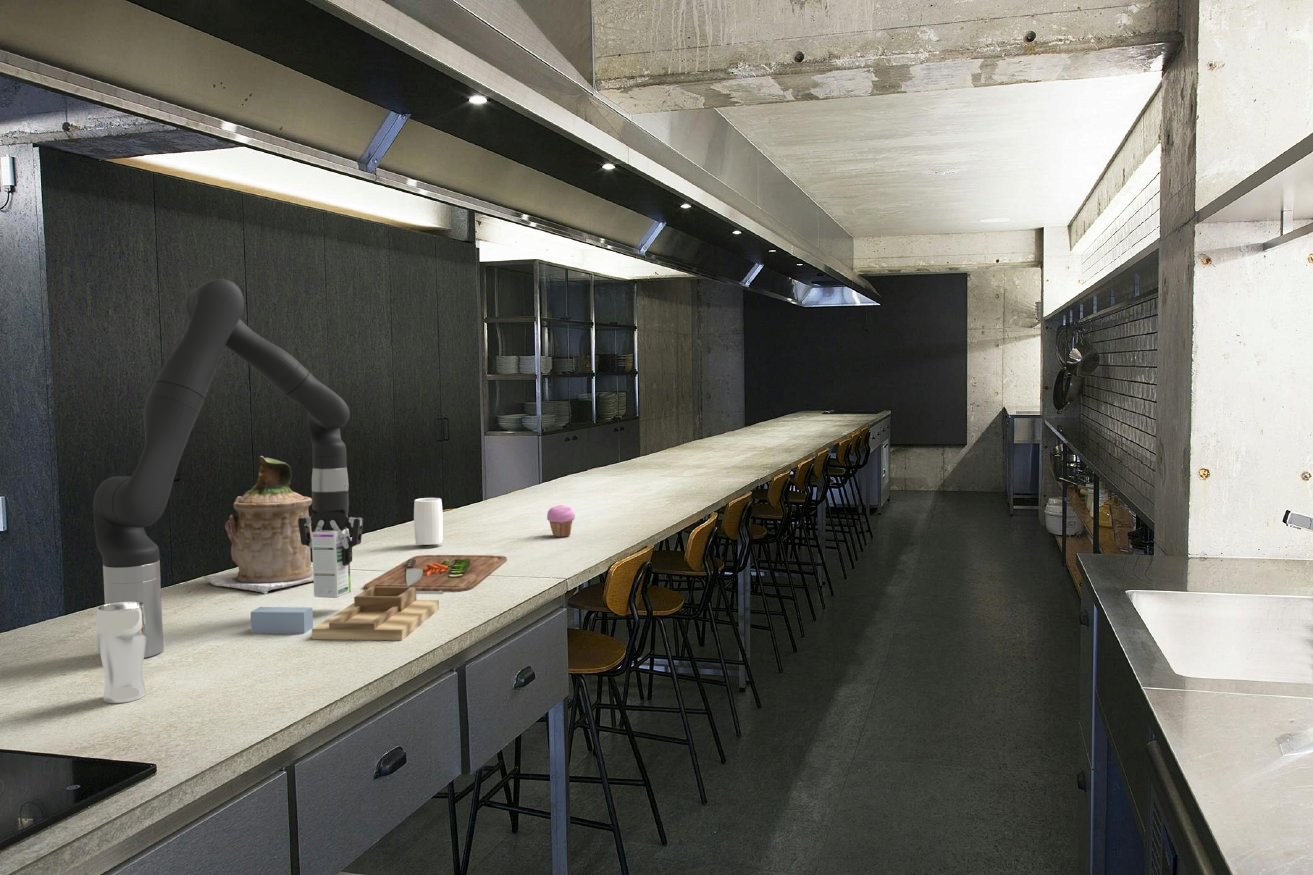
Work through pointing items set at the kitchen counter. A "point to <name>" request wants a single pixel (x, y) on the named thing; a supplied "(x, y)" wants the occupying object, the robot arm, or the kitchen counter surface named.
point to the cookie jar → (268, 534)
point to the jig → (378, 615)
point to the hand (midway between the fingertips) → (331, 564)
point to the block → (281, 620)
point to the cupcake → (561, 520)
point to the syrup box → (329, 565)
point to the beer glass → (122, 649)
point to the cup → (428, 521)
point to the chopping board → (440, 573)
